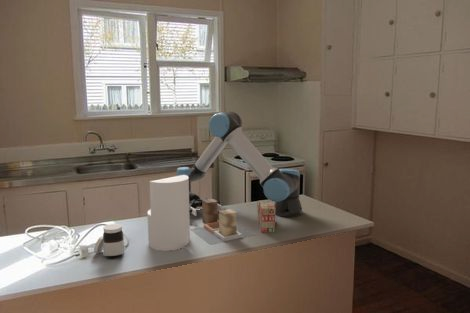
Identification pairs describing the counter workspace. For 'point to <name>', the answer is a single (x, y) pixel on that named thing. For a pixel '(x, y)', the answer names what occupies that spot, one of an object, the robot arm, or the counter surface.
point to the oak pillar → (227, 222)
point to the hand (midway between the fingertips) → (208, 210)
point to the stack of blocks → (266, 215)
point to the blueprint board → (213, 236)
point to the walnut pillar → (210, 211)
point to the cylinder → (169, 213)
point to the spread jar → (111, 242)
